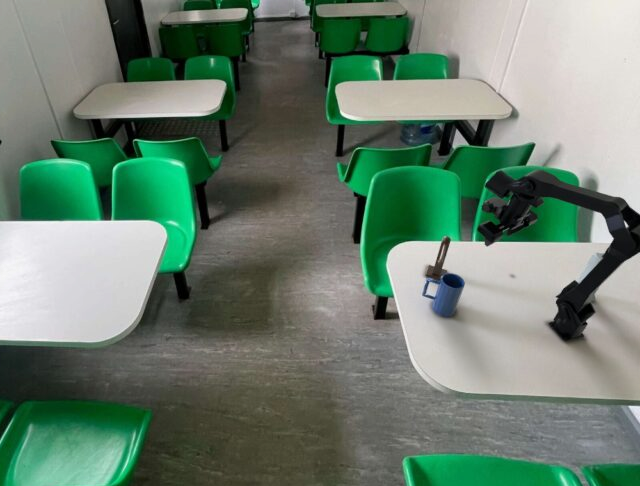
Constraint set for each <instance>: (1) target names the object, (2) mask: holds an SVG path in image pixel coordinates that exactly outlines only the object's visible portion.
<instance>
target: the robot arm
mask: <svg viewBox="0 0 640 486" xmlns="http://www.w3.org/2000/svg"><path fill="white" fill-rule="evenodd" d="M484 188H485V189H487V190H488V191H489V192H491V193H492V194H493V195H495V196H494V197H490V198H489V199H486V200H485V201H484V202H483V203H482V204H481V211H482V212H484V213H485V214H492V215H494V219H495V220H496V221H498V222H499V223H498V224H495V223H494V222H493V221H492V220H486V221H484V222H482V223H480V224H478V226H477V228H476V231H477V232H478V233H479V234H480V235H482V236H483V237H484V246H485V247H486V248H487V247H490V246H491V245H493V244H495V243H497V242H499V241H501V240H502V238H503V236H504V232H505V231H506V232H505V235H506V236H508V237H511V236H513V235H514V234H517V233H518V232H521V231H522V230H525V229H526V228H528V227H530V226H532V225H533V224H535V223H536V222H537V221H538V219H539V217H538V214H537V213H536V212H535V211H533V210H532V209H531V208H532V207H533V208H534V209H537V208H539V207H540V206H542V205H544V204H545V201H544V199H543V198H550V199H555V200H558V201H561V202H565V203H568V204H571V205H574V206H576V207H580V208H583V209H586V210H590V211H592V212H596V213H597V214H601V215H602V217H603V218H604V220H605V223H606V227H607V230H608V233H609V235H611V237H612V241H611V242H610V244H609V246H610V247H609V246H608V247H609V251H608V253H607V254H606V255H605V256H604V257H603V259H602V260H601V261H600V262H599V263H598V264H597V265H596V266H595V267H594V268H593V269H592V270H591V271H590V272H589V273H588V274H587V276H586V277H585V278H584V279H583V280H582V281H581V282H580V283H578V282H577V281H578V280H576V279H574V280H572V281H571V282H570V283H568V284H566V286H564V287H563V288H562V289H561V292H559V293H558V294H557V295H555V298H556V300H555V305H556V307H557V312H556V314H555V316H554V317H553V318H552V321H548V322H547V323H548V325H549V326H550V328H551V329H552V330H553V331H554V332H555V333H556V334H557V335H558V336H559V337H560V338H561V340H563V341H565V342H567V341H568V342H569V341H573V340H577V339H582V338H584V337H585V335H584V333H583V332H584V331H585V330H586V329H587V326H588V325H589V323H588V322H587V321H588V320H589V319H590V318H591V317H593V315H595V314H596V313H597V311H596V309H595V307H594V305H593V303H592V302H593V301H592V299H593V297H594V295H595V296H596V293H595V291H596V290H597V289H598V290H599V288H600V287H601V286H602V285H603V284H604V283H605V282H606V281H607V280H608V279H609V278H610V277H611V276H612V275H613V274H614V273H615V272H616V271H617V270H618V269H619V268H620V267H621V266H622V265H623V264H624V263H625V262H627V261H628V260H630V259H632V258H633V257H635V256H637V255H638V254H640V213H639V212H638V211H636V210H635V209H634V208H632V207H631V206H630V205H629V203H628V202H627V201H626V199H625V198H623V197H621V196H613V195H610V194H607V193H603V192H600V191H596V190H592V189H589V188H587V187H582V186H579V185H575V184H573V183H568V182H565V181H563V180H561V179H559V178H558V177H557V176H556V175H555V174H553V173H550V172H548V171H546V170H544V169H535V170H533V171H530V172H529V173H527V174H525V175H523V176H522V177H519V178H517V179H515V178H513V177H512V176H510V175H508V174H507V173H506V172H505V171H503V170H502V169H499V170H497V171H496V172H495V173H494V174H493V175H492V176H491V177H490V178H489V179H488V180H487V181H486V182H485V184H484ZM505 198H506V199H509V200H508V201H507V200H504V199H505ZM626 225H627V226H626ZM598 290H597V291H598ZM597 291H596V292H597Z"/></svg>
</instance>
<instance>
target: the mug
mask: <svg viewBox="0 0 640 486" xmlns="http://www.w3.org/2000/svg"><path fill="white" fill-rule="evenodd" d="M430 283H432V284H436V285H438V286H437V288H436V292H435V295H430V294H428V288H429V285H430ZM465 286H466V282H465V279H464V278H463V277H462V276H460V275H458V274H456V273H453V272H447V273H446V274H443V275H442V276H441V279H440V280H437V279H433V278H430V277H427V278H426V279H425V283H424V287H423V289H422V290H423V291H422V293H421V296H422V297H423V298H427V299H430V300H433V301H432V305H431V308H432V310H433V312H434V313H435V314H437V315H438V316H439V317H445V318H450V317H452V316H453V315H455V312H456V310H457V307H458V304H459V302H460V300H461V296H462V294H463V291H464V289H465Z"/></svg>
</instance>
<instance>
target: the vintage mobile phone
mask: <svg viewBox="0 0 640 486" xmlns="http://www.w3.org/2000/svg"><path fill="white" fill-rule="evenodd" d="M609 247H610V245H609V246H608V247H607V248H606V249H605V251H604V253H602V252H593V253H592V255H591V257H590V258H589V260H588V261H587V263H586V265H585V267H584V269H583V271H582V272H581V274H580V275H579V277H578V279H577V280H576V281H577V282H578V283H580V282H581V281H582V280H583V279H584V278H585V277H586V276H587V274H588V273H589V272H590V271H591V270H592V269H593V268H594V267H595V266H596V265H597V264H598V263H599V262H600V261H601V260H602V259H603V257H604V256H605V255H606V254H607V253H608V251H609ZM598 290H599V288H598V289H597V290H596V291H595V295H594V297H593V299H592V301H591V302H595V301H596V293H597V291H598Z"/></svg>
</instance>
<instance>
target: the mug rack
mask: <svg viewBox="0 0 640 486" xmlns="http://www.w3.org/2000/svg"><path fill="white" fill-rule="evenodd" d="M451 241H452V239H451V237H449V236H447V235H445V236H443V237H442V239H441V242H440V245H439V248H438V253H437V256H436V260H435V262H434V265H431V264H428V266H427V269H426V273H425V277H427V278H430V279H433V280H437V281H440V279H441V276H442V275H443V274H446V273H448V269H445V268H444V269H443V267H444V263H445V260H446V258H447V254H448V251H449V248H450V245H451Z"/></svg>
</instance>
